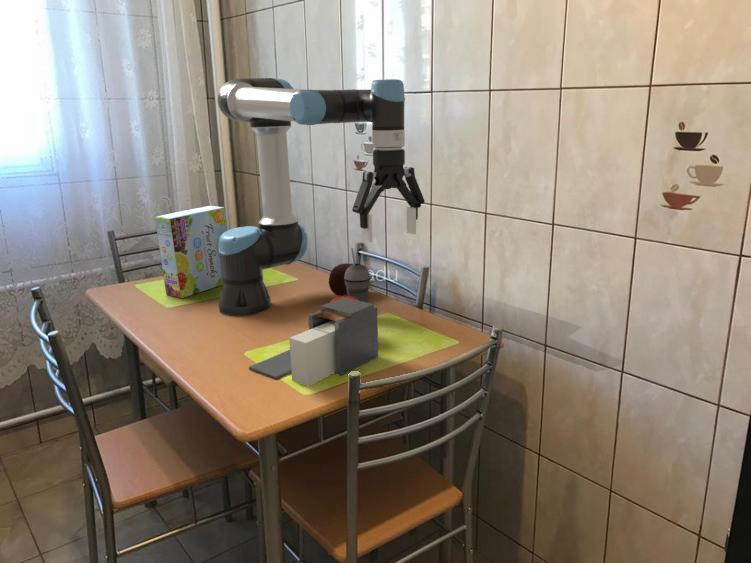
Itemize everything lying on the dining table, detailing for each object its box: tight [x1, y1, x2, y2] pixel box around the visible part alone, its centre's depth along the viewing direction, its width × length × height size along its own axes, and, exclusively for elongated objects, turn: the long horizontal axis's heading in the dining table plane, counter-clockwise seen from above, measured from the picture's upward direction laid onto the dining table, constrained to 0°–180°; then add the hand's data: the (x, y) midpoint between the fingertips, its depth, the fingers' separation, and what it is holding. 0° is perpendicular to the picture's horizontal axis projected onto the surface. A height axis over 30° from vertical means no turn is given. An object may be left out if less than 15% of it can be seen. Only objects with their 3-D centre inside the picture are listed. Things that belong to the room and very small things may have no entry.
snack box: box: [154, 205, 228, 299], centre depth 201 cm, size 22×9×26 cm, turn 144°
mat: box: [248, 349, 292, 380], centre depth 146 cm, size 9×16×1 cm, turn 141°
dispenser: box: [308, 297, 379, 377], centre depth 144 cm, size 9×13×13 cm
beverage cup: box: [344, 247, 371, 303], centre depth 171 cm, size 7×7×20 cm
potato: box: [328, 262, 353, 297], centre depth 193 cm, size 11×13×10 cm
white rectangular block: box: [288, 320, 337, 387], centre depth 139 cm, size 5×14×10 cm, turn 141°
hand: (390, 237), depth 152 cm, fingers open, 13 cm apart
